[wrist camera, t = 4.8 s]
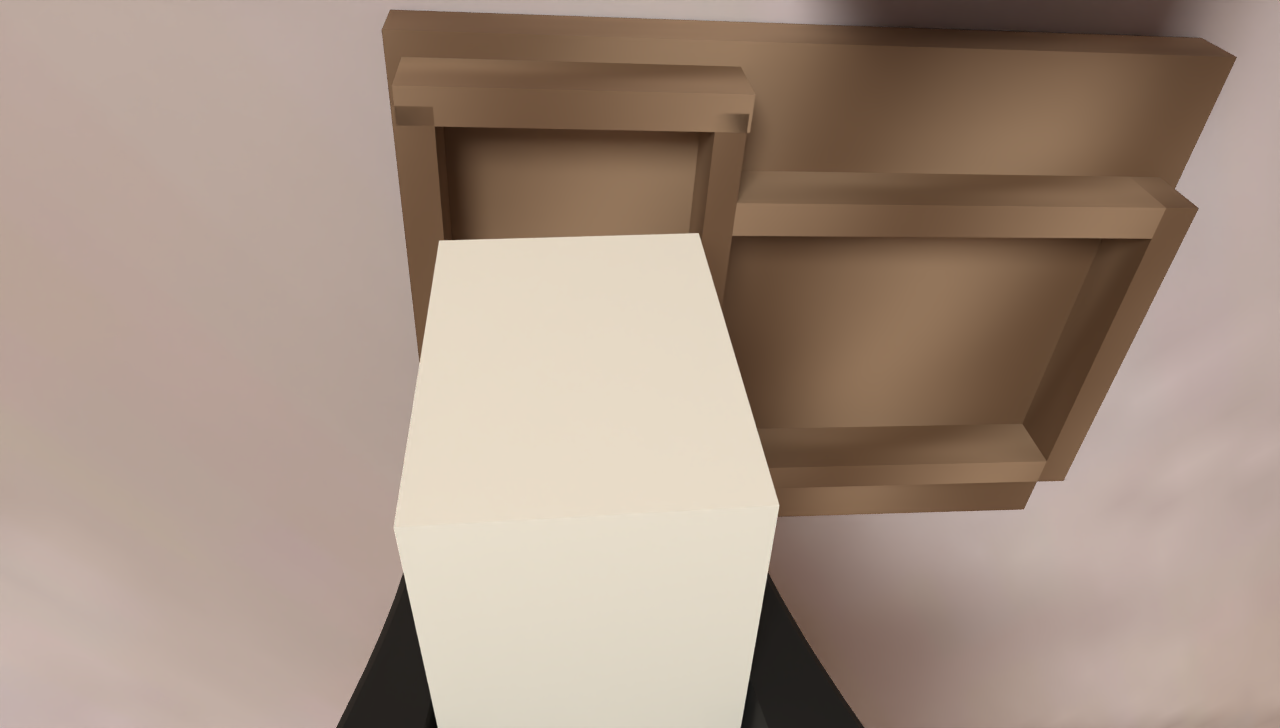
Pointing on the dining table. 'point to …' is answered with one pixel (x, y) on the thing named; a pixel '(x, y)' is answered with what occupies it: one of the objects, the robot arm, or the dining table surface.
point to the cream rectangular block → (583, 489)
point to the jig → (837, 215)
